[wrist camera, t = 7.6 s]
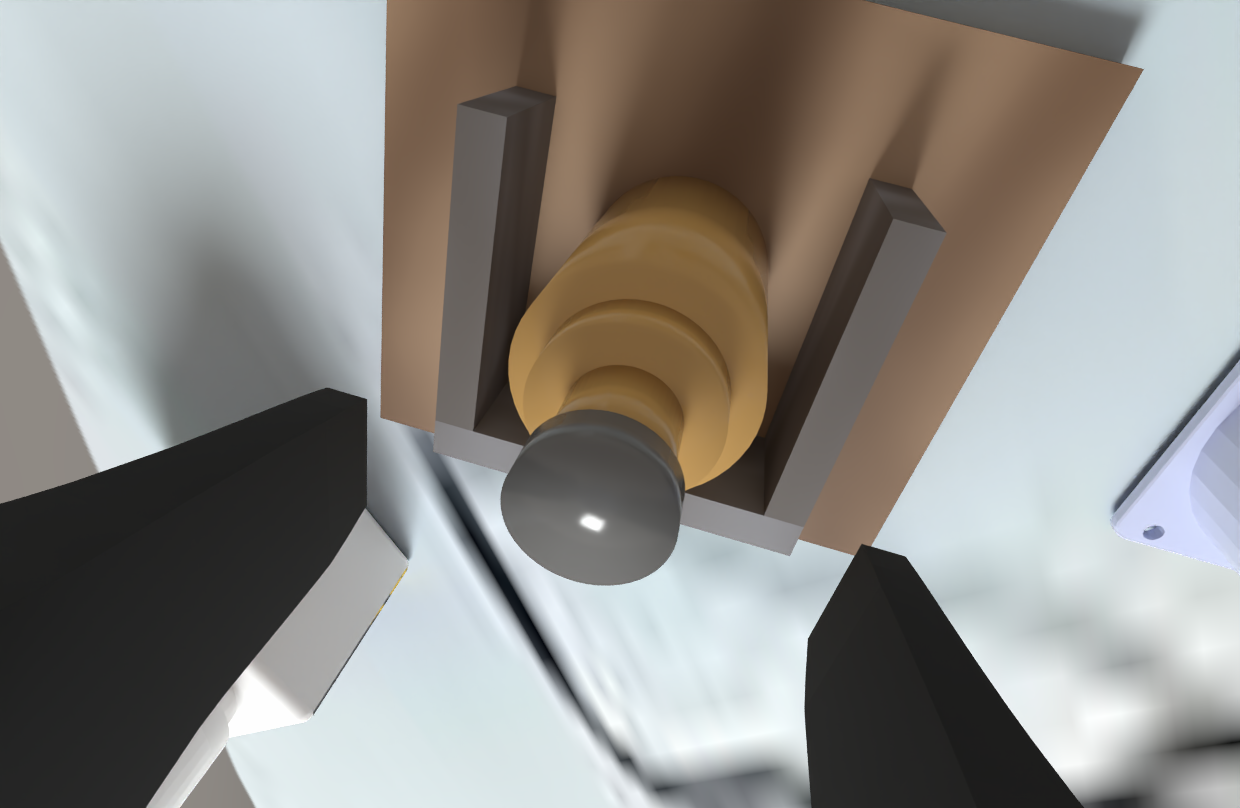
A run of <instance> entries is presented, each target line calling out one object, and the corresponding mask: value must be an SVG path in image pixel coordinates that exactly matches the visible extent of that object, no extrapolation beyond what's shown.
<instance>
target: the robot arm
mask: <svg viewBox="0 0 1240 808" xmlns="http://www.w3.org/2000/svg"><path fill="white" fill-rule="evenodd" d="M366 502H367V399H365V398H361V397H358V396H354V395H351V394H347V393H344V392H341V391H337V390H334V389H330V388H324V389H321V390H318V391H315V392H312V393H310V394H307V395H304V396H301V397H299V398H296V399H294V400H291V401H288V402H286V403H283V404H281V405H278V406H276V407H273V408H271V409H268V410H265V411H263V412H260V413H258V414H255V415H253V416H250V417H248V418H245V419H243V420H240V421H238V422H235V423H233V424H230V425H228V426H225V427H223V428H220V429H217V430H215V431H212V432H210V433H207V434H205V435H202V436H199V437H197V438H194V439H192V440H189V441H187V442H184V443H181V444H179V445H176V446H174V447H171V448H168V449H165V450H163V451H160V452H157V453H154V454H151V455H148V456H145V457H143V458H140V459H137V460H134V461H131V462H128V463H125V464H123V465H120V466H117V467H114V468H111V469H108V470H106V471H103V472H100V473H97V474H94V475H91V476H88V477H86V478H83V479H80V480H77V481H74V482H71V483H68V484H65V485H62V486H58V487H55V488H52V489H49V490H45V491H42V492H39V493H35V494H32V495H29V496H26V497H22V498H19V499H15V500H12V501H9V502H5V503H1V504H0V808H146V807H147V805H148V804H149V802H150V801H151V799H152V798H153V796H154V795H155V793H156V792H157V790H158V789H159V787H160V786H161V784H162V783H163V781H164V780H165V779H166V777H167V776H168V774H169V773H170V771H171V770H172V768H173V767H174V765H175V764H176V762H177V761H178V759H179V758H180V756H181V755H182V753H183V752H184V750H185V749H186V747H187V746H188V744H189V743H190V741H191V740H192V738H193V737H194V735H195V734H196V733H197V731H198V730H199V728H200V727H201V725H202V724H203V723H204V721H205V720H206V719H207V717H208V716H209V715H210V713H211V712H212V711H213V710H214V708H215V707H216V706H217V704H218V703H219V702H220V700H221V699H222V698H223V696H224V695H225V694H226V693H227V691H228V690H229V689H230V688H231V686H232V685H233V684H234V683H235V682H236V680H237V679H238V678H239V677H240V675H241V674H242V673H243V672H244V670H245V669H246V668H247V667H248V666H249V664H250V663H251V662H252V661H253V659H254V658H255V657H256V656H257V655H258V653H259V652H260V651H261V650H262V648H263V647H264V646H265V645H266V644H267V642H268V641H269V640H270V639H271V637H272V636H273V635H274V634H275V633H276V631H277V630H278V629H279V628H280V626H281V625H282V624H283V623H284V622H285V620H286V619H287V618H288V617H289V615H290V614H291V613H292V612H293V611H294V609H295V608H296V607H297V606H298V604H299V603H300V602H301V601H302V599H303V598H304V597H305V596H306V594H307V593H308V592H309V591H310V589H311V588H312V587H313V586H314V584H315V583H316V582H317V581H318V579H319V578H320V577H321V576H322V574H323V573H324V572H325V571H326V569H327V568H328V567H329V565H330V564H331V563H332V561H333V560H334V558H335V556H336V555H337V553H338V552H339V550H340V549H341V547H342V545H343V544H344V542H345V541H346V539H347V538H348V536H349V534H350V533H351V531H352V529H353V528H354V526H355V524H356V523H357V521H358V519H359V518H360V516H361V514H362V513H363V511H364V509H365V508H366ZM1154 525H1156V527H1155V528H1153V529H1151V530H1147V531H1145V529H1146V528H1148V527H1150V526H1154ZM1111 526H1112V527H1113V529H1114V530H1115V532H1116V533H1117V535H1118V536H1119V537H1121V538H1123V539H1126V540H1130V541H1133V542H1137V543H1140V544H1144V545H1147V546H1151V547H1154V548H1158V549H1161V550H1165V551H1168V552H1172V553H1175V554H1179V555H1183V556H1186V557H1190V558H1193V559H1197V560H1200V561H1204V562H1207V563H1211V564H1214V565H1218V566H1221V567H1225V568H1228V569H1232V570H1235V571H1236V572H1237V573H1238V574H1239V576H1240V360H1239V361H1238V363H1237V364H1236V365H1235V366H1234V368H1233V369H1232V370H1231V371H1230V373H1229V374H1228V375H1227V376H1226V377H1225V379H1224V380H1223V381H1222V382H1221V384H1220V385H1219V386H1218V387H1217V388H1216V390H1215V391H1214V392H1213V393H1212V395H1211V396H1210V397H1209V398H1208V399H1207V401H1206V402H1205V403H1204V404H1203V406H1202V407H1201V408H1200V409H1199V410H1198V412H1197V413H1196V414H1195V415H1194V417H1193V418H1192V419H1191V420H1190V421H1189V423H1188V424H1187V425H1186V426H1185V428H1184V429H1183V430H1182V431H1181V432H1180V434H1179V435H1178V436H1177V437H1176V439H1175V440H1174V441H1173V442H1172V443H1171V445H1170V446H1169V447H1168V448H1167V450H1166V451H1165V452H1164V453H1163V455H1162V456H1161V457H1160V458H1159V459H1158V461H1157V462H1156V463H1155V464H1154V466H1153V467H1152V468H1151V469H1150V470H1149V472H1148V473H1147V474H1146V475H1145V477H1144V478H1143V479H1142V480H1141V481H1140V483H1139V484H1138V485H1137V486H1136V488H1135V489H1134V490H1133V491H1132V492H1131V494H1130V495H1129V496H1128V497H1127V499H1126V500H1125V501H1124V502H1123V503H1122V505H1121V506H1120V507H1119V508H1118V510H1117V511H1116V512H1115V513H1114V514H1113V516H1112V518H1111ZM805 725H806V740H807V754H808V767H809V780H810V793H811V805H812V808H1084V807H1083V806H1082V805H1081V804H1080V802H1079V801H1078V800H1077V798H1076V797H1075V796H1074V795H1073V793H1072V792H1071V791H1070V789H1069V788H1068V787H1067V785H1066V784H1065V783H1064V781H1063V780H1062V779H1061V778H1060V776H1059V775H1058V774H1057V772H1056V771H1055V770H1054V768H1053V767H1052V766H1051V764H1050V763H1049V762H1048V760H1047V759H1046V758H1045V757H1044V755H1043V754H1042V753H1041V751H1040V750H1039V749H1038V747H1037V746H1036V745H1035V743H1034V742H1033V741H1032V739H1031V738H1030V737H1029V735H1028V734H1027V733H1026V731H1025V730H1024V728H1023V727H1022V726H1021V724H1020V723H1019V721H1018V720H1017V719H1016V717H1015V716H1014V715H1013V713H1012V712H1011V710H1010V709H1009V708H1008V706H1007V705H1006V703H1005V702H1004V701H1003V699H1002V698H1001V696H1000V695H999V693H998V692H997V691H996V689H995V688H994V686H993V685H992V683H991V682H990V681H989V679H988V678H987V676H986V675H985V673H984V672H983V670H982V669H981V667H980V666H979V665H978V663H977V662H976V660H975V659H974V657H973V656H972V654H971V653H970V651H969V650H968V648H967V647H966V645H965V644H964V642H963V641H962V639H961V638H960V636H959V635H958V633H957V632H956V630H955V629H954V627H953V626H952V624H951V623H950V621H949V620H948V618H947V617H946V615H945V614H944V612H943V611H942V609H941V608H940V606H939V605H938V603H937V602H936V600H935V599H934V597H933V596H932V594H931V593H930V591H929V590H928V588H927V587H926V585H925V584H924V582H923V581H922V579H921V578H920V576H919V575H918V573H917V572H916V571H915V569H914V568H913V566H912V565H911V564H910V562H909V561H908V559H907V558H906V557H905V556H902V555H898V554H895V553H891V552H888V551H885V550H881V549H878V548H874V547H871V546H867V545H864V544H861V546H860V547H859V549H858V551H857V553H856V555H855V556H854V558H853V560H852V562H851V563H850V565H849V567H848V569H847V571H846V572H845V574H844V576H843V578H842V579H841V581H840V583H839V585H838V586H837V588H836V590H835V592H834V594H833V595H832V597H831V599H830V601H829V602H828V604H827V606H826V608H825V610H824V611H823V613H822V615H821V617H820V618H819V620H818V622H817V624H816V626H815V627H814V629H813V631H812V633H811V634H810V636H809V638H808V647H807V663H806V681H805Z"/></svg>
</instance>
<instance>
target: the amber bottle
mask: <svg viewBox="0 0 1240 808" xmlns="http://www.w3.org/2000/svg"><path fill="white" fill-rule="evenodd" d="M508 375H509V382H510V390H511V393H512V397H513V400H514V404H515V406H516V409H517V411H518V413H519V416H520V418H521V420H522V421H523V423H524V425H525V427H526V428H527V430H528V432H529V434H530V436H529V438H528V439H527V441H526V443H525V445H524V446H523V448H522V450H521V452H520V454H519V455H518V457H517V459H516V461H515V462H514V464H513V466H512V468H511V470H510V471H509V473H508V475H507V477H506V478H505V481H504V484H503V487H502V492H501V510H502V516H503V519H504V522H505V525H506V527H507V529H508V531H509V533H510V534H511V536H512V538H513V539H514V541H515V542H516V543H517V544H518V546H519V547H520V548H521V549H522V550H523V551H524V552H525V553H526V554H527V555H528V556H529V557H530V558H531V559H533V560H534V561H535V562H536V563H538V564H539V565H541V566H542V567H544V568H545V569H547V570H549V571H551V572H553V573H555V574H557V575H559V576H562V577H564V578H566V579H570V580H573V581H576V582H580V583H585V584H592V585H620V584H625V583H630V582H633V581H637V580H640V579H642V578H644V577H646V576H648V575H650V574H651V573H653V572H655V571H656V570H657V569H658V568H660V567H661V566H662V565H663V564H664V563H665V562H666V560H667V559H668V558H669V557H670V555H671V553H672V552H673V550H674V547H675V545H676V542H677V537H678V532H679V526H680V520H681V515H682V509H683V503H684V497H685V491H686V490H688V489H690V488H693V487H695V486H698V485H701V484H704V483H706V482H707V481H709V480H711V479H713V478H715V477H717V476H718V475H720V474H721V473H723V472H724V471H726V470H727V469H729V468H730V467H731V466H732V465H733V464H734V463H735V462H736V461H737V460H739V459H740V458H741V456H742V455H743V454H744V453H745V451H746V450H747V449H748V448H749V446H750V445H751V443H752V441H753V440H754V438H755V437H756V435H757V433H758V430H759V428H760V425H761V423H762V421H763V417H764V413H765V408H766V402H767V384H768V254H767V248H766V243H765V240H764V237H763V234H762V231H761V229H760V227H759V225H758V223H757V221H756V219H755V218H754V217H753V215H752V214H751V212H750V211H749V210H748V209H747V207H746V206H745V205H744V204H743V203H742V202H741V201H740V200H739V199H737V198H736V197H735V196H734V195H733V194H731V193H730V192H728V191H727V190H725V189H723V188H722V187H720V186H718V185H716V184H713V183H711V182H709V181H705V180H702V179H698V178H693V177H686V176H669V177H661V178H657V179H653V180H649V181H646V182H644V183H642V184H639V185H637V186H635V187H633V188H632V189H630V190H628V191H627V192H625V193H624V194H623V195H622V196H620V197H619V198H618V199H617V200H616V201H615V202H614V203H613V204H612V205H611V206H610V207H609V208H608V210H607V211H606V212H605V213H604V215H603V216H602V217H601V218H600V220H599V221H598V222H597V223H596V225H595V226H594V227H593V228H592V230H591V231H590V232H589V233H588V235H587V236H586V237H585V238H584V239H583V241H582V242H581V243H580V244H579V246H578V247H577V248H576V249H575V251H574V252H573V253H572V254H571V256H570V257H569V258H568V259H567V261H566V262H565V263H564V264H563V266H562V267H561V268H560V269H559V271H558V272H557V273H556V274H555V276H554V277H553V278H552V279H551V281H550V282H549V283H548V284H547V286H546V287H545V288H544V289H543V291H542V292H541V293H540V294H539V296H538V297H537V298H536V299H535V301H534V302H533V303H532V304H531V305H530V307H529V308H528V310H527V311H526V313H525V314H524V316H523V317H522V319H521V321H520V323H519V325H518V327H517V329H516V331H515V334H514V337H513V340H512V343H511V348H510V354H509V372H508Z"/></svg>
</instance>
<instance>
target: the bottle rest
mask: <svg viewBox="0 0 1240 808" xmlns="http://www.w3.org/2000/svg"><path fill="white" fill-rule="evenodd" d="M1143 70H1144V69H1141V68H1137V67H1133V66H1129V65H1125V64H1121V63H1117V62H1113V61H1109V60H1104V59H1100V58H1096V57H1092V56H1088V55H1084V54H1080V53H1076V52H1072V51H1068V50H1064V49H1060V48H1056V47H1052V46H1048V45H1043V44H1039V43H1035V42H1031V41H1027V40H1023V39H1019V38H1015V37H1011V36H1007V35H1003V34H999V33H995V32H991V31H987V30H982V29H978V28H974V27H970V26H966V25H962V24H958V23H954V22H950V21H946V20H942V19H938V18H934V17H930V16H926V15H921V14H917V13H913V12H909V11H905V10H901V9H897V8H893V7H889V6H885V5H881V4H877V3H873V2H869V1H865V0H387V26H386V91H385V156H384V222H383V287H382V353H381V418H384V419H387V420H391V421H394V422H397V423H401V424H404V425H408V426H411V427H415V428H418V429H422V430H425V431H428V432H432V433H434V447H433V452H436V453H440V454H443V455H446V456H450V457H453V458H457V459H460V460H463V461H467V462H470V463H474V464H477V465H481V466H484V467H487V468H491V469H494V470H498V471H501V472H504V473H509V471H510V470H511V468H512V466H513V464H514V462H515V461H516V459H517V457H518V455H519V454H520V452H521V450H522V448H523V446H524V445H525V443H526V441H527V439H528V438H529V436H530V434H529V432H528V430H527V428H526V427H525V425H524V423H523V421H522V420H521V418H520V416H519V413H518V411H517V409H516V406H515V404H514V400H513V397H512V393H511V390H510V382H509V375H508V372H509V354H510V348H511V343H512V340H513V337H514V334H515V331H516V329H517V327H518V325H519V323H520V321H521V319H522V317H523V316H524V314H525V313H526V311H527V310H528V308H529V307H530V305H531V304H532V303H533V302H534V301H535V299H536V298H537V297H538V296H539V294H540V293H541V292H542V291H543V289H544V288H545V287H546V286H547V284H548V283H549V282H550V281H551V279H552V278H553V277H554V276H555V274H556V273H557V272H558V271H559V269H560V268H561V267H562V266H563V264H564V263H565V262H566V261H567V259H568V258H569V257H570V256H571V254H572V253H573V252H574V251H575V249H576V248H577V247H578V246H579V244H580V243H581V242H582V241H583V239H584V238H585V237H586V236H587V235H588V233H589V232H590V231H591V230H592V228H593V227H594V226H595V225H596V223H597V222H598V221H599V220H600V218H601V217H602V216H603V215H604V213H605V212H606V211H607V210H608V208H609V207H610V206H611V205H612V204H613V203H614V202H615V201H616V200H617V199H618V198H619V197H620V196H622V195H623V194H624V193H625V192H627V191H628V190H630V189H632V188H633V187H635V186H637V185H639V184H642V183H644V182H646V181H649V180H653V179H657V178H661V177H669V176H686V177H693V178H698V179H702V180H705V181H709V182H711V183H713V184H716V185H718V186H720V187H722V188H723V189H725V190H727V191H728V192H730V193H731V194H733V195H734V196H735V197H736V198H737V199H739V200H740V201H741V202H742V203H743V204H744V205H745V206H746V207H747V209H748V210H749V211H750V212H751V214H752V215H753V217H754V218H755V219H756V221H757V223H758V225H759V227H760V229H761V231H762V234H763V237H764V240H765V243H766V248H767V254H768V384H767V402H766V408H765V413H764V417H763V421H762V423H761V425H760V428H759V430H758V433H757V435H756V437H755V438H754V440H753V441H752V443H751V445H750V446H749V448H748V449H747V450H746V451H745V453H744V454H743V455H742V456H741V458H740V459H739V460H737V461H736V462H735V463H734V464H733V465H732V466H731V467H730V468H729V469H727V470H726V471H724V472H723V473H721V474H720V475H718V476H717V477H715V478H713V479H711V480H709V481H707V482H706V483H704V484H701V485H698V486H695V487H693V488H690V489H688V490H686V491H685V497H684V503H683V509H682V515H681V520H680V524H682V525H686V526H689V527H692V528H696V529H699V530H703V531H706V532H710V533H713V534H716V535H720V536H723V537H727V538H730V539H733V540H737V541H740V542H744V543H747V544H751V545H754V546H757V547H761V548H764V549H768V550H771V551H774V552H778V553H781V554H785V555H788V556H790V555H791V553H792V551H793V548H794V546H795V544H796V542H797V540H798V539H800V540H803V541H806V542H810V543H813V544H817V545H820V546H824V547H827V548H830V549H834V550H837V551H841V552H844V553H848V554H851V555H854V556H855V555H856V553H857V551H858V549H859V547H860V546H861V544H864V545H867V546H871V545H872V543H873V542H874V540H875V538H876V536H877V535H878V533H879V531H880V529H881V528H882V526H883V524H884V522H885V521H886V519H887V517H888V515H889V514H890V512H891V510H892V508H893V507H894V505H895V503H896V501H897V500H898V498H899V496H900V494H901V493H902V491H903V489H904V487H905V486H906V484H907V482H908V480H909V479H910V477H911V475H912V473H913V472H914V470H915V468H916V466H917V465H918V463H919V461H920V459H921V458H922V456H923V454H924V452H925V451H926V449H927V447H928V446H929V444H930V442H931V440H932V439H933V437H934V435H935V433H936V432H937V430H938V428H939V426H940V425H941V423H942V421H943V419H944V418H945V416H946V414H947V412H948V411H949V409H950V407H951V405H952V404H953V402H954V400H955V398H956V397H957V395H958V393H959V391H960V390H961V388H962V386H963V384H964V383H965V381H966V379H967V377H968V376H969V374H970V372H971V370H972V369H973V367H974V365H975V363H976V362H977V360H978V358H979V356H980V355H981V353H982V351H983V349H984V348H985V346H986V344H987V342H988V341H989V339H990V337H991V335H992V334H993V332H994V330H995V328H996V327H997V325H998V323H999V321H1000V320H1001V318H1002V316H1003V314H1004V313H1005V311H1006V309H1007V307H1008V306H1009V304H1010V302H1011V300H1012V299H1013V297H1014V295H1015V293H1016V292H1017V290H1018V288H1019V286H1020V285H1021V283H1022V281H1023V279H1024V278H1025V276H1026V274H1027V272H1028V271H1029V269H1030V267H1031V265H1032V264H1033V262H1034V260H1035V258H1036V257H1037V255H1038V253H1039V251H1040V250H1041V248H1042V246H1043V244H1044V243H1045V241H1046V239H1047V237H1048V236H1049V234H1050V232H1051V230H1052V229H1053V227H1054V225H1055V224H1056V222H1057V220H1058V218H1059V217H1060V215H1061V213H1062V211H1063V210H1064V208H1065V206H1066V204H1067V203H1068V201H1069V199H1070V197H1071V196H1072V194H1073V192H1074V190H1075V189H1076V187H1077V185H1078V183H1079V182H1080V180H1081V178H1082V176H1083V175H1084V173H1085V171H1086V169H1087V168H1088V166H1089V164H1090V162H1091V161H1092V159H1093V157H1094V155H1095V154H1096V152H1097V150H1098V148H1099V147H1100V145H1101V143H1102V141H1103V140H1104V138H1105V136H1106V134H1107V133H1108V131H1109V129H1110V127H1111V126H1112V124H1113V122H1114V120H1115V119H1116V117H1117V115H1118V113H1119V112H1120V110H1121V108H1122V106H1123V105H1124V103H1125V101H1126V99H1127V98H1128V96H1129V94H1130V92H1131V91H1132V89H1133V87H1134V85H1135V84H1136V82H1137V80H1138V78H1139V77H1140V75H1141V73H1142V71H1143Z"/></svg>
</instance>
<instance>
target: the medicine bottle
mask: <svg viewBox="0 0 1240 808" xmlns="http://www.w3.org/2000/svg"><path fill="white" fill-rule="evenodd" d="M408 564H409V562H408V560H407V559H406V557H405V556H404V555H403V554H402V552H401V551H400V550H399V549H398V547H397V546H396V545H395V544H394V543H393V541H392V540H391V539H390V538H389V536H388V535H387V534H386V533H385V532H384V530H383V529H382V528H381V527H380V525H379V524H378V523H377V522H376V520H375V519H374V518H373V517H372V516H371V514H370V513H369V512H368V511H367V509H366V508H365V509H364V511H363V513H362V514H361V516H360V518H359V519H358V521H357V523H356V524H355V526H354V528H353V529H352V531H351V533H350V534H349V536H348V538H347V539H346V541H345V542H344V544H343V545H342V547H341V549H340V550H339V552H338V553H337V555H336V556H335V558H334V560H333V561H332V563H331V564H330V565H329V567H328V568H327V569H326V571H325V572H324V573H323V574H322V576H321V577H320V578H319V579H318V581H317V582H316V583H315V584H314V586H313V587H312V588H311V589H310V591H309V592H308V593H307V594H306V596H305V597H304V598H303V599H302V601H301V602H300V603H299V604H298V606H297V607H296V608H295V609H294V611H293V612H292V613H291V614H290V615H289V617H288V618H287V619H286V620H285V622H284V623H283V624H282V625H281V626H280V628H279V629H278V630H277V631H276V633H275V634H274V635H273V636H272V637H271V639H270V640H269V641H268V642H267V644H266V645H265V646H264V647H263V648H262V650H261V651H260V652H259V653H258V655H257V656H256V657H255V658H254V659H253V661H252V662H251V663H250V664H249V666H248V667H247V668H246V669H245V670H244V672H243V673H242V674H241V675H240V677H239V678H238V679H237V680H236V682H235V683H234V684H233V685H232V686H231V688H230V689H229V690H228V691H227V693H226V694H225V695H224V696H223V698H222V699H221V700H220V702H219V703H218V704H217V706H216V707H215V708H214V710H213V711H212V712H211V713H210V715H209V716H208V717H207V719H206V720H205V721H204V723H203V724H202V725H201V727H200V728H199V730H198V731H197V733H196V734H195V735H194V737H193V738H192V740H191V741H190V743H189V744H188V746H187V747H186V749H185V750H184V752H183V753H182V755H181V756H180V758H179V759H178V761H177V762H176V764H175V765H174V767H173V768H172V770H171V771H170V773H169V774H168V776H167V777H166V779H165V780H164V781H163V783H162V784H161V786H160V787H159V789H158V790H157V792H156V793H155V795H154V796H153V798H152V799H151V801H150V802H149V804H148V805H147V807H146V808H180V806H181V805H182V804H183V802H184V801H185V800H186V798H187V797H188V795H189V794H190V793H191V791H192V790H193V789H194V787H195V786H196V785H197V783H198V782H199V780H200V779H201V778H202V777H203V775H204V774H205V772H206V771H207V770H208V768H209V767H210V766H211V764H212V763H213V761H214V760H215V759H216V758H217V756H218V755H219V753H220V752H221V751H222V749H223V748H224V747H225V745H226V744H227V741H228V739H229V737H234V736H239V735H244V734H249V733H254V732H259V731H264V730H269V729H274V728H278V727H283V726H288V725H293V724H298V723H303V722H306V721H308V720H309V719H310V718H311V717H312V716H313V715H314V713H315V712H316V710H317V709H318V707H319V706H320V704H321V702H322V701H323V699H324V698H325V696H326V695H327V693H328V692H329V690H330V688H331V687H332V685H333V684H334V682H335V681H336V679H337V678H338V676H339V675H340V673H341V671H342V670H343V668H344V667H345V665H346V664H347V662H348V661H349V659H350V657H351V656H352V654H353V653H354V651H355V650H356V648H357V647H358V645H359V643H360V642H361V640H362V639H363V637H364V636H365V634H366V633H367V631H368V629H369V628H370V626H371V625H372V623H373V622H374V620H375V619H376V617H377V616H378V614H379V612H380V611H381V609H382V608H383V606H384V605H385V603H386V602H387V600H388V598H389V597H390V595H391V594H392V592H393V591H394V589H395V588H396V586H397V584H398V583H399V581H400V580H401V578H402V577H403V575H404V574H405V572H406V571H407V568H408Z"/></svg>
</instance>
